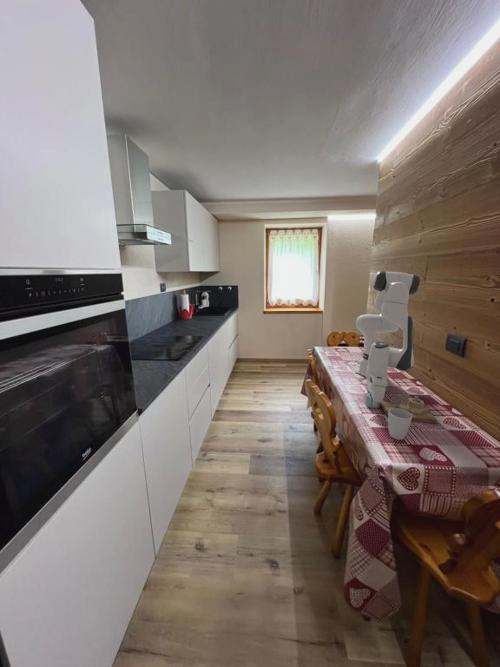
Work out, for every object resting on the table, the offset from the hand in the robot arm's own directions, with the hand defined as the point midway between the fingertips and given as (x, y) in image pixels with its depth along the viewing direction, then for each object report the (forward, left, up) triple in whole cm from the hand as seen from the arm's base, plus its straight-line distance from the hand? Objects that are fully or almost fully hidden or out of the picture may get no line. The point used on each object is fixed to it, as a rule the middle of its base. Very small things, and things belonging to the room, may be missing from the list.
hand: (372, 401), depth 130 cm
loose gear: (0, 0, -2) cm, 2 cm away
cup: (+25, +4, -2) cm, 25 cm away
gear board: (+3, +14, -2) cm, 15 cm away
